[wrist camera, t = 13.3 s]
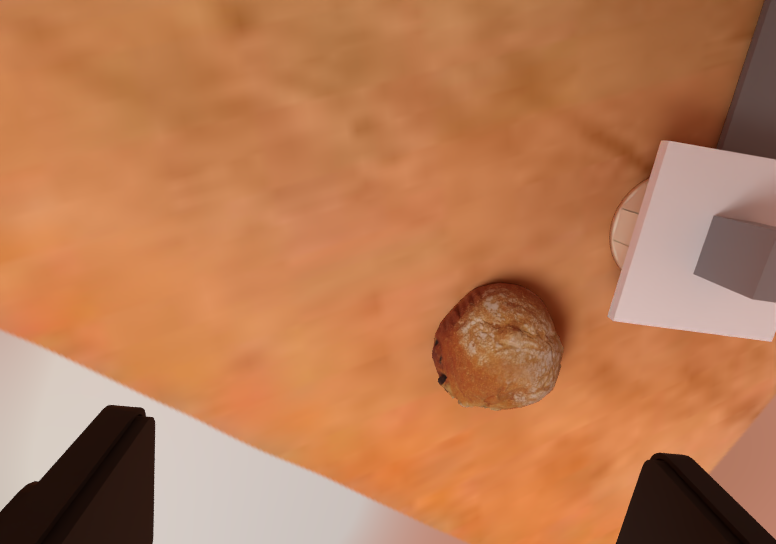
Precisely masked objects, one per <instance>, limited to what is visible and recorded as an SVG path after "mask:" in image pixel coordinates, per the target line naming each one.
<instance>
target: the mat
mask: <svg viewBox="0 0 776 544" xmlns="http://www.w3.org/2000/svg"><path fill="white" fill-rule="evenodd" d="M716 149H719V150H724V151H730V152H736V153H741V154H747V155H753V156H758V157H764V158H769V159H775V160H776V0H765V1H764V4H763V7H762V10H761V13H760V16H759V20H758V23H757V26H756V29H755V32H754V35H753V38H752V41H751V44H750V47H749V50H748V53H747V56H746V59H745V62H744V65H743V69H742V72H741V75H740V78H739V81H738V84H737V87H736V90H735V93H734V96H733V99H732V102H731V105H730V108H729V111H728V114H727V118H726V121H725V124H724V127H723V130H722V133H721V136H720V139H719V142H718V145H717V148H716Z"/></svg>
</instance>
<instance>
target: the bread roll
mask: <svg viewBox="0 0 776 544" xmlns="http://www.w3.org/2000/svg"><path fill="white" fill-rule="evenodd" d="M563 349H564V348H563V346H562V344H561V341H560V339H559V336H558V335H557V332H556V330H555V328H554V324H553V322H552V319H551V317H550V315H549V312H548V310H547V308H546V306H545V304H544V303H543V301H542V300H541V299H540V298H539V297H538V296H537V295H535V294H534V293H533V292H531V291H530V290H528V289H527V288H525V287H522V286H519V285H516V284H509V283H496V284H490V285H486V286H481V287H478V288H476V289H474V290H472V291H470V292H469V293H468V294H467V295H466V296H465V297H464V298H463V299H461V300H460V302H459V303H458V304H457V305H456V306H454V308H453V309H452V310H451V311H450V312H449V314H448V315H447V316H446V317H445V318H444V319H443V321H442V322H441V323H440V326H439V328H438V330H437V332H436V333H435V339H434V347H433V351H432V358H433V360H434V363H435V366H436V370H437V372H438V374H439V379H438V382H439V384H440V385H441V386H442V387H444V388H445V390H446V391H447V392H449V393H450V395H451V397H452V398H456V399H457V400H458V403H459V404H460V405H461V406H462V407H484V408H490V409H491V410H495V411H498V410H501V409H513V408H521V407H524V406H527V405H530V404H533V403H536V402H538V401H540V400H541V399H542V398H544V397H545V396H546V395H547V394H549V393H550V392H551V391H552V390H553V388H554V386H555V383H556V380H557V378H558V375H559V372H560V368H561V364H560V363H561V359H562V354H563Z"/></svg>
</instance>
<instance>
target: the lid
mask: <svg viewBox="0 0 776 544" xmlns="http://www.w3.org/2000/svg"><path fill="white" fill-rule="evenodd" d="M607 317H609V318H610V319H611V320H613V321H617V322H625V323H632V324H640V325H648V326H655V327H663V328H671V329H678V330H686V331H694V332H701V333H709V334H717V335H724V336H732V337H739V338H747V339H755V340H762V341H770V342H772V339H773V337H774V334H775V332H776V160H775V159H769V158H764V157H758V156H753V155H747V154H741V153H736V152H730V151H724V150H719V149H713V148H707V147H702V146H696V145H691V144H685V143H679V142H674V141H664V140H661V143H660V146H659V149H658V152H657V156H656V159H655V162H654V166H653V169H652V172H651V175H650V179H649V182H648V185H647V188H646V192H645V195H644V198H643V202H642V205H641V208H640V211H639V215H638V218H637V221H636V225H635V228H634V231H633V234H632V238H631V241H630V244H629V247H628V251H627V254H626V257H625V261H624V264H623V267H622V270H621V274H620V277H619V280H618V284H617V287H616V290H615V293H614V297H613V300H612V303H611V306H610V310H609V313H608V316H607Z"/></svg>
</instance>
